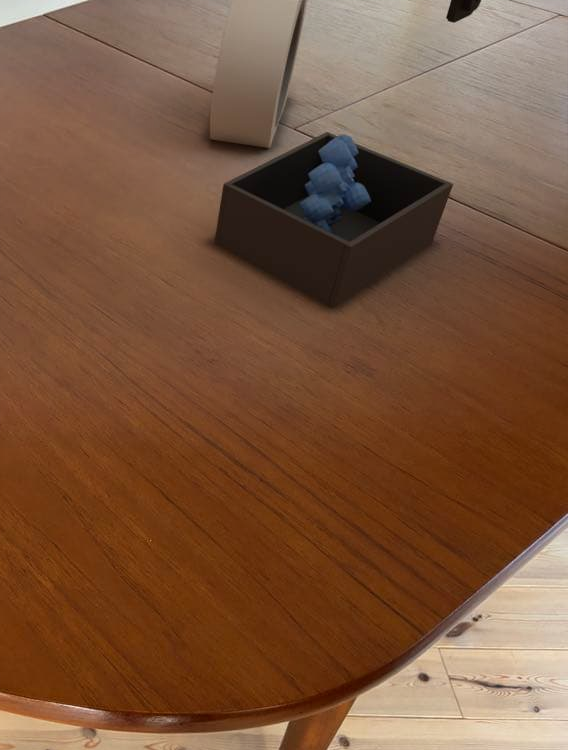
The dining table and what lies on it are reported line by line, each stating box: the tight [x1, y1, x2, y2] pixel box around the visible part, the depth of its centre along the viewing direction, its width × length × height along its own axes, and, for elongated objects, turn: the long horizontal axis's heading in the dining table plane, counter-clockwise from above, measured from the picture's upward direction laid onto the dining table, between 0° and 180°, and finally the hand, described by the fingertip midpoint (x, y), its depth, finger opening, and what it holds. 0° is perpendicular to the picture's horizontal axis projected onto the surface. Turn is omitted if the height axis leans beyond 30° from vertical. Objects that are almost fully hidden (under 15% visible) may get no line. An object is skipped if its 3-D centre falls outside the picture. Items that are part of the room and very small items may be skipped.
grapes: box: [300, 133, 371, 234], centre depth 87 cm, size 12×7×12 cm, turn 150°
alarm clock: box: [209, 0, 308, 149], centre depth 106 cm, size 21×8×20 cm, turn 160°
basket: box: [214, 131, 454, 309], centre depth 89 cm, size 15×17×8 cm
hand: (407, 3), depth 74 cm, fingers open, 9 cm apart
